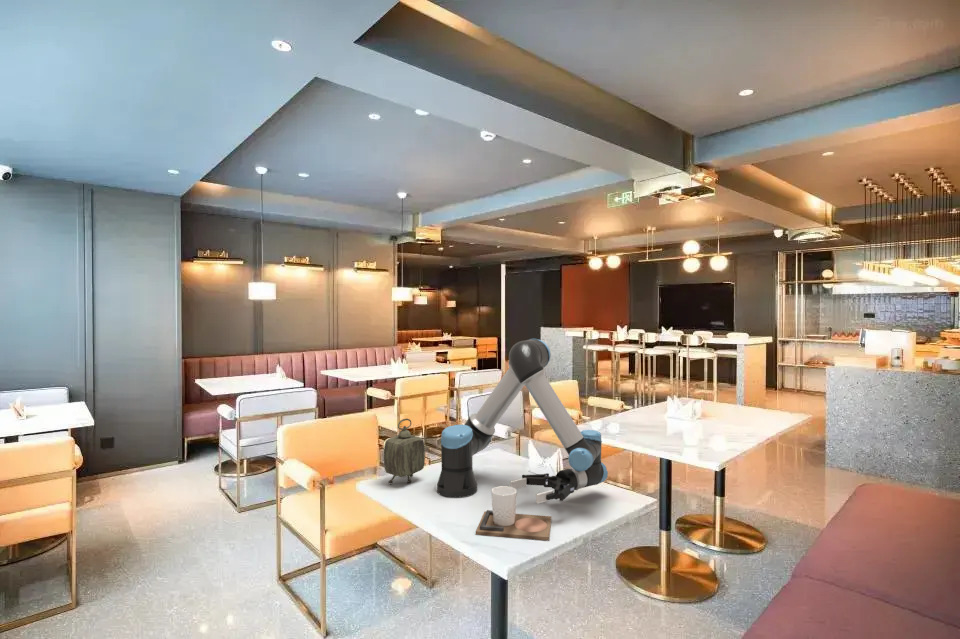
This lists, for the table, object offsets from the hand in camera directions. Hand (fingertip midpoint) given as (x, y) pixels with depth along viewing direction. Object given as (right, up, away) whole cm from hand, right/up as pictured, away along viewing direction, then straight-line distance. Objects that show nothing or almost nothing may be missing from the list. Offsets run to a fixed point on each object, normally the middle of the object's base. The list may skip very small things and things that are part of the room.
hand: (523, 492), depth 163 cm
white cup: (-6, -8, -5) cm, 11 cm away
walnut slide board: (-3, -9, -6) cm, 11 cm away
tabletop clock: (-43, -8, +34) cm, 56 cm away
